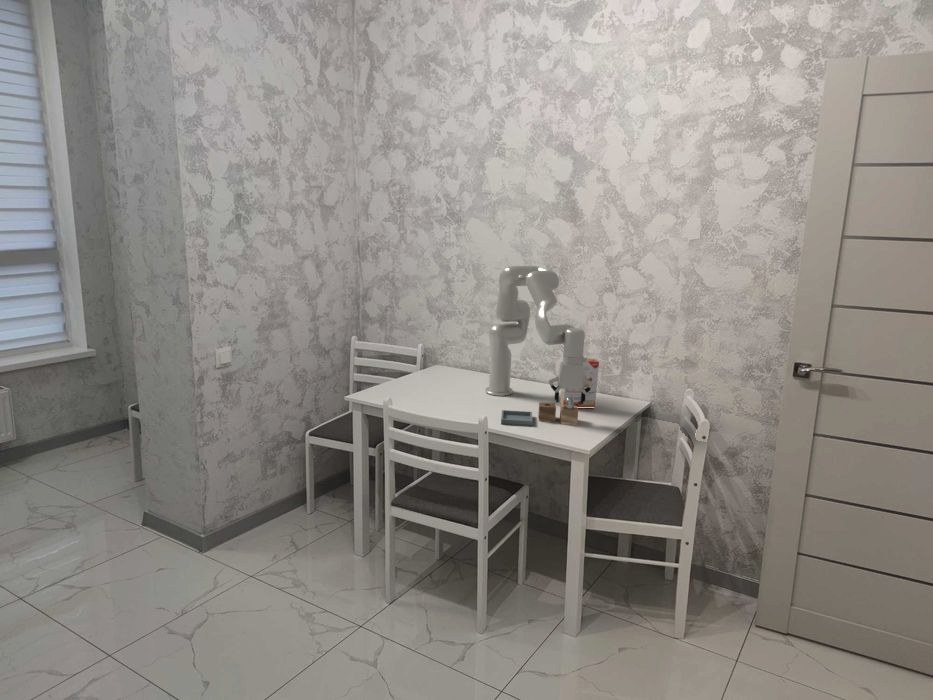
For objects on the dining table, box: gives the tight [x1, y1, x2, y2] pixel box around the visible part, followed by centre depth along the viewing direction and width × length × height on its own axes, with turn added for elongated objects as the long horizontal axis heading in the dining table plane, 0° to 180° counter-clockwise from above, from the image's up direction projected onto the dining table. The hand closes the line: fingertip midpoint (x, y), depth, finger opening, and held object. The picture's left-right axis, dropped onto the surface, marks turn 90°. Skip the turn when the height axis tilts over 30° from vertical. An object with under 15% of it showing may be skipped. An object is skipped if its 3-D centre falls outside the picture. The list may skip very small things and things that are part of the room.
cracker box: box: [560, 358, 600, 408], centre depth 271 cm, size 14×6×21 cm, turn 95°
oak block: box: [559, 405, 579, 425], centre depth 253 cm, size 6×6×6 cm
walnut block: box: [537, 401, 557, 423], centre depth 255 cm, size 6×6×6 cm
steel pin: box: [566, 397, 573, 409], centre depth 252 cm, size 2×2×9 cm
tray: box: [500, 409, 533, 427], centre depth 253 cm, size 12×12×2 cm
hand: (569, 402), depth 252 cm, fingers open, 9 cm apart
